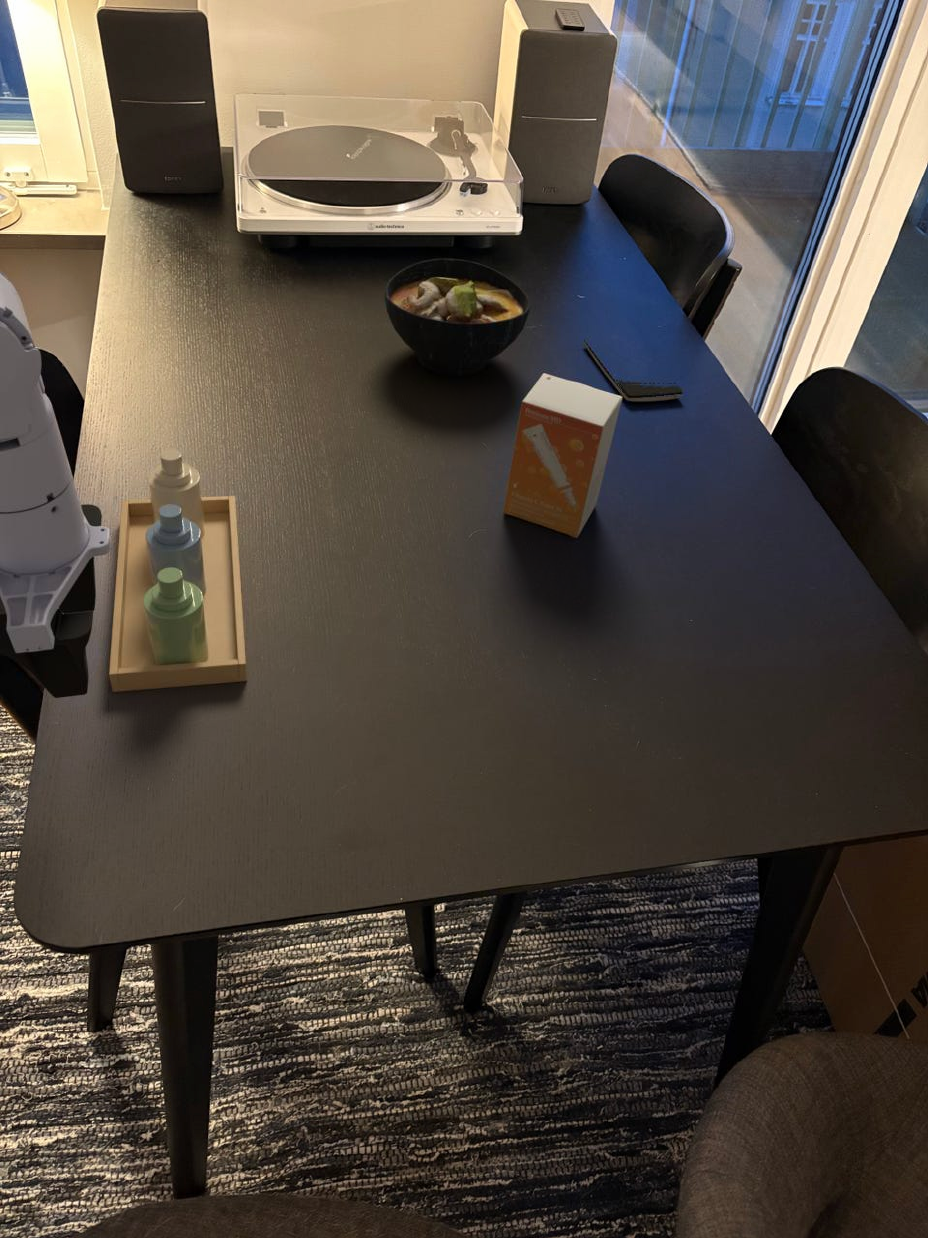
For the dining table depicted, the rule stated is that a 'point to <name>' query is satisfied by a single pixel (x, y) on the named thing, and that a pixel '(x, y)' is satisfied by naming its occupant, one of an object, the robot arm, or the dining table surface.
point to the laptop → (639, 387)
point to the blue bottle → (176, 546)
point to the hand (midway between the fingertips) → (75, 649)
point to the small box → (560, 453)
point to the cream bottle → (176, 487)
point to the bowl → (455, 313)
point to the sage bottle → (176, 620)
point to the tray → (220, 601)
